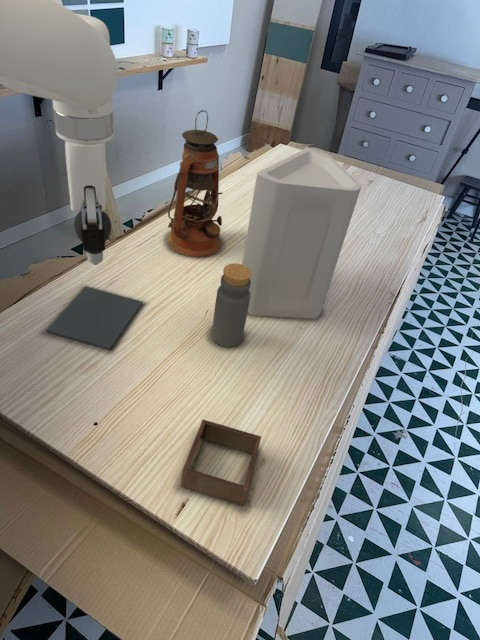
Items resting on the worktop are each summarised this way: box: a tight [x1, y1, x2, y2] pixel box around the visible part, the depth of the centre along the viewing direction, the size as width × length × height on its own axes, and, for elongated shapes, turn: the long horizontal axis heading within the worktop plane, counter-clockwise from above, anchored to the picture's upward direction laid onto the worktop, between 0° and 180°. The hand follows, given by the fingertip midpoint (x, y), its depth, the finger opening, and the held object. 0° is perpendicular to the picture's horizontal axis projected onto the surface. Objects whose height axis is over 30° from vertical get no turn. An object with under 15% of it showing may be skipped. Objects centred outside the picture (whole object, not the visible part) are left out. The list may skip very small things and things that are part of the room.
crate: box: [180, 419, 262, 507], centre depth 65 cm, size 9×9×4 cm
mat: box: [45, 286, 144, 351], centre depth 86 cm, size 14×12×1 cm
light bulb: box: [73, 210, 112, 266], centre depth 75 cm, size 6×6×10 cm
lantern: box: [166, 109, 223, 258], centre depth 101 cm, size 17×13×30 cm
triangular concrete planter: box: [241, 147, 363, 320], centre depth 89 cm, size 19×15×28 cm
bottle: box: [211, 262, 251, 348], centre depth 82 cm, size 6×6×15 cm
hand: (93, 238), depth 75 cm, fingers closed on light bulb, 5 cm apart
